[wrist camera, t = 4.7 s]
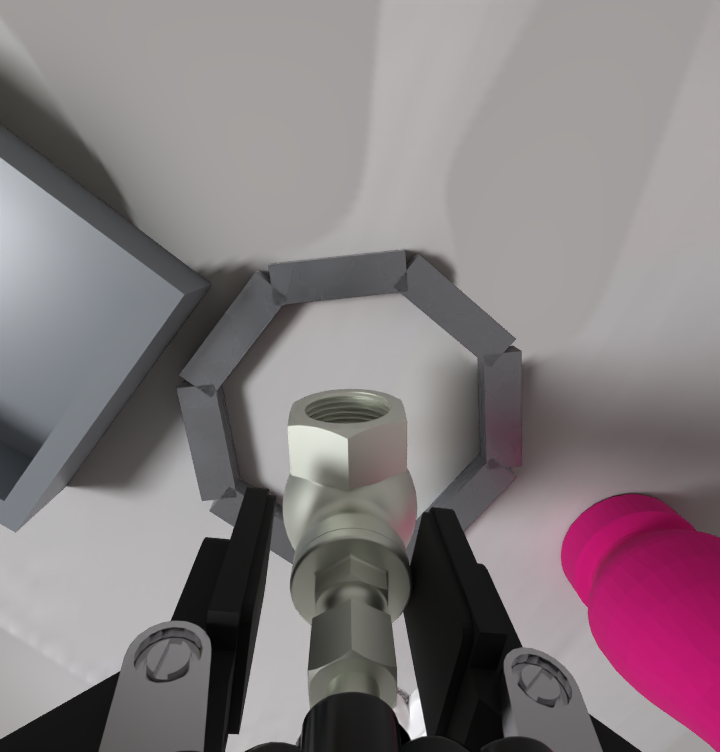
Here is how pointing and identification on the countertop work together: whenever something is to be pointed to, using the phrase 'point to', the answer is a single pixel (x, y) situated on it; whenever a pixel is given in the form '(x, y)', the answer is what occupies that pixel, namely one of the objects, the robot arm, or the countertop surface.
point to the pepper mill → (652, 603)
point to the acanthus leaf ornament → (411, 715)
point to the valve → (354, 571)
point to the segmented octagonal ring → (344, 281)
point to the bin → (71, 323)
